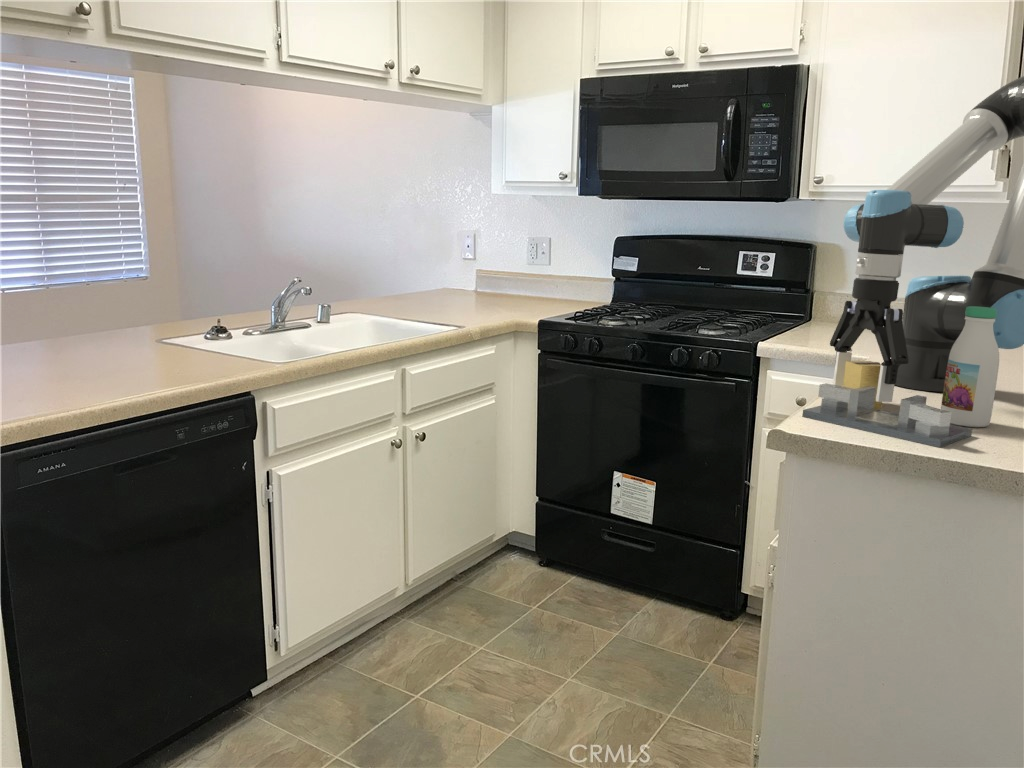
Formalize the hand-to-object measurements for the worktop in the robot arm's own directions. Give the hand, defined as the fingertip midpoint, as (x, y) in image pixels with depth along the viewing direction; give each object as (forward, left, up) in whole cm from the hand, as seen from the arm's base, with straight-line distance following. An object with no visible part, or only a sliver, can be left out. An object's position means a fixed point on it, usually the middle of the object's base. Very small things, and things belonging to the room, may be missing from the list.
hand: (860, 393), depth 152 cm
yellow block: (0, 0, -2) cm, 2 cm away
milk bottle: (-3, +17, -3) cm, 18 cm away
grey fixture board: (+12, +10, -2) cm, 16 cm away
